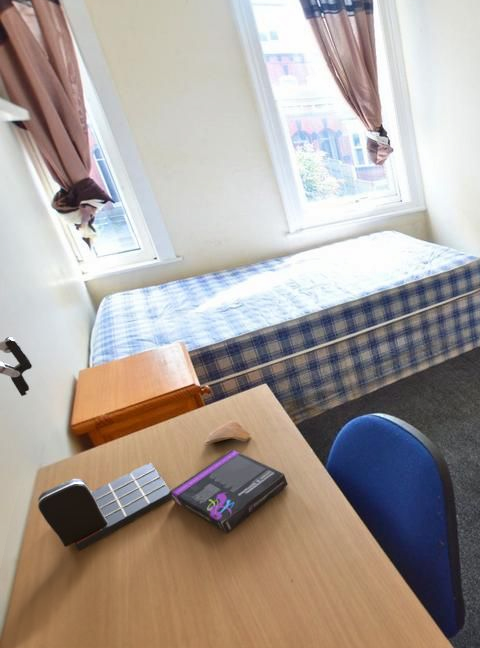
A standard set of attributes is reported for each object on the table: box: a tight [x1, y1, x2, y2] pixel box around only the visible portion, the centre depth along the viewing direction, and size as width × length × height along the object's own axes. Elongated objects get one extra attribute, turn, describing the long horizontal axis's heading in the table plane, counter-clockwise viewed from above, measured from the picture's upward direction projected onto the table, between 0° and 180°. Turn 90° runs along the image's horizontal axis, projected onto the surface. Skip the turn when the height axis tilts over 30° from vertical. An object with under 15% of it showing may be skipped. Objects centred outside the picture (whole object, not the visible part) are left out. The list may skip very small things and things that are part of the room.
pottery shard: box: [205, 420, 252, 445], centre depth 117 cm, size 10×9×2 cm
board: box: [74, 462, 173, 551], centre depth 99 cm, size 16×16×2 cm
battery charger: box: [37, 478, 108, 547], centre depth 88 cm, size 7×4×11 cm, turn 136°
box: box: [169, 449, 288, 534], centre depth 98 cm, size 14×4×20 cm
